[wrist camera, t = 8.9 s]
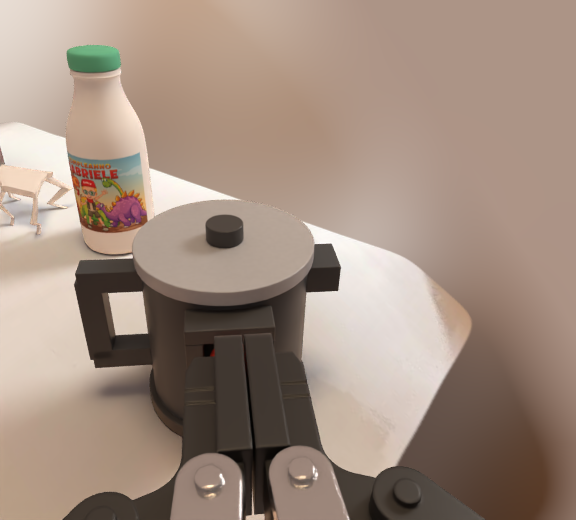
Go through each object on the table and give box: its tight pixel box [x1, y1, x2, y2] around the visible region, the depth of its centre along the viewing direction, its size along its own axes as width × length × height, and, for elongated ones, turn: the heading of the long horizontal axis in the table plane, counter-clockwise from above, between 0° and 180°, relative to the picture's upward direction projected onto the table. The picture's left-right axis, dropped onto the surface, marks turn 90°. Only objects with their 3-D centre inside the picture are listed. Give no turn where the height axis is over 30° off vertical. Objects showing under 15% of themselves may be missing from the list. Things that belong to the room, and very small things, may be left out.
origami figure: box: [0, 164, 72, 235], centre depth 61 cm, size 12×8×5 cm
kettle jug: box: [74, 200, 341, 437], centre depth 36 cm, size 13×17×14 cm
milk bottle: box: [66, 45, 154, 254], centre depth 53 cm, size 8×8×20 cm
